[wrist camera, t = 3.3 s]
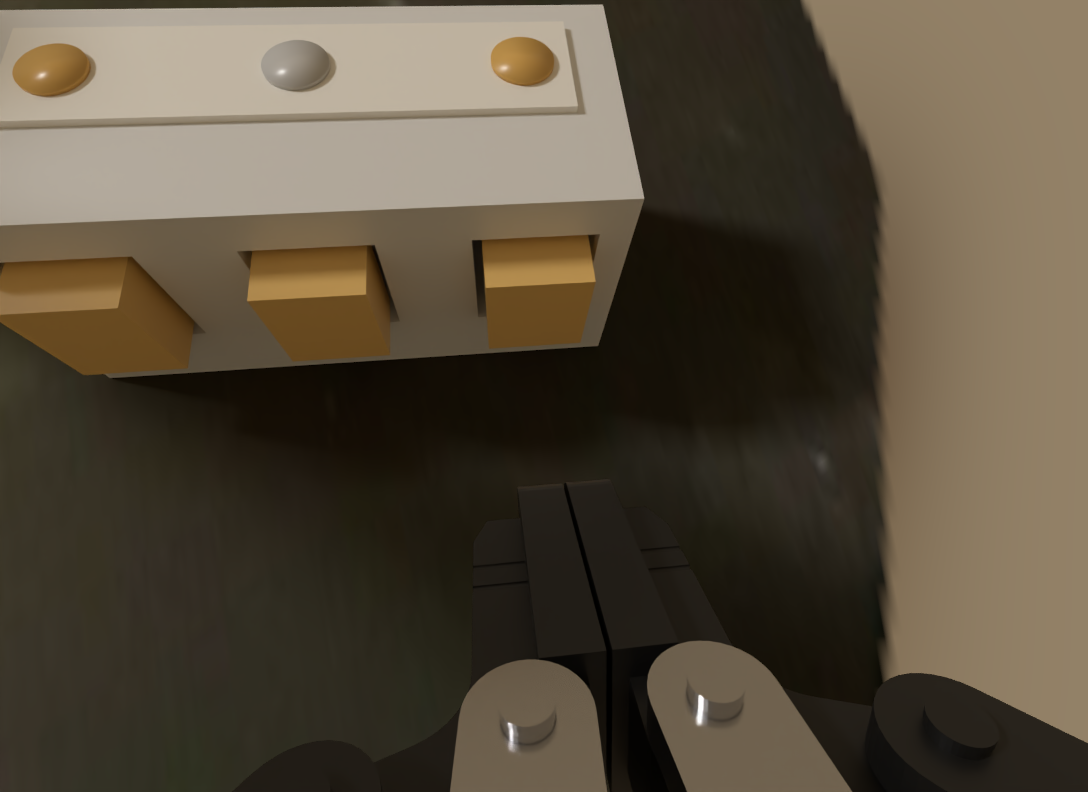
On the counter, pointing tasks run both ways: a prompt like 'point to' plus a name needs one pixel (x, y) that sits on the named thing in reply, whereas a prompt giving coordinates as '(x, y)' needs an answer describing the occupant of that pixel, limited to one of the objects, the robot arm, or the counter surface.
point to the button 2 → (537, 289)
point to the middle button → (322, 301)
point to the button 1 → (96, 314)
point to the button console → (315, 154)
